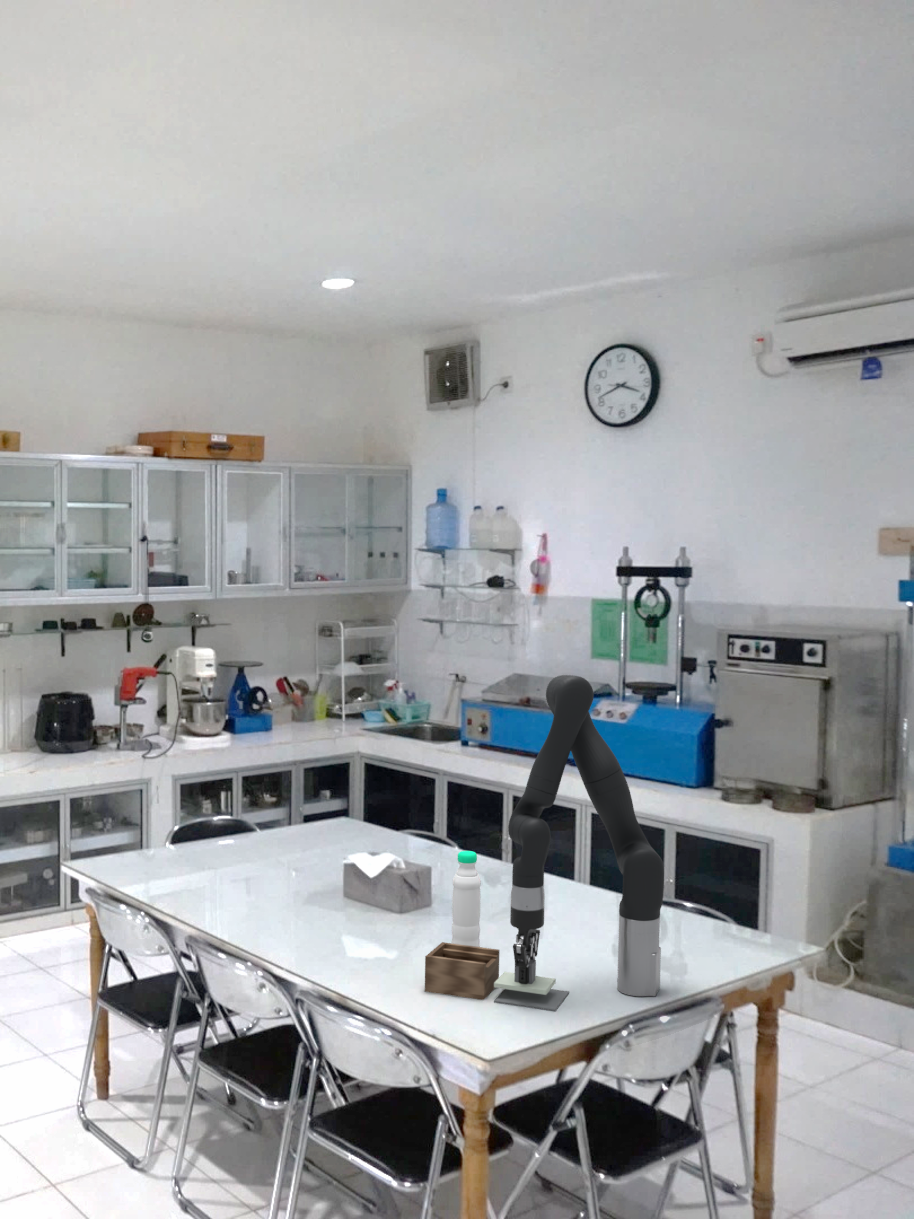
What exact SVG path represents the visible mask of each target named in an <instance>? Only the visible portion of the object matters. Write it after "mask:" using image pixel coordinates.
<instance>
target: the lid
mask: <svg viewBox="0 0 914 1219" xmlns="http://www.w3.org/2000/svg"><path fill="white" fill-rule="evenodd" d="M521 961H523V960H522V959H521ZM536 969H537V960H536V959H535V960H532V959H530V966H529V983H528V984H521V983H519V967H518V966H515V965H514V972H510V971H504V972H502V973H501V975H499V978H498V979H497V980H496V981H495V982H494V988H495V989H503V990H504V989H509V990H516V991H523V992H530V993H537V994H544V995H546V994H547V993H548V992H549V991H550V989H553V987H554V985H555V984H556V983H557V982H556V980H557V978H553V977H546V976H539V975H536V972H537V971H536Z"/></svg>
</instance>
